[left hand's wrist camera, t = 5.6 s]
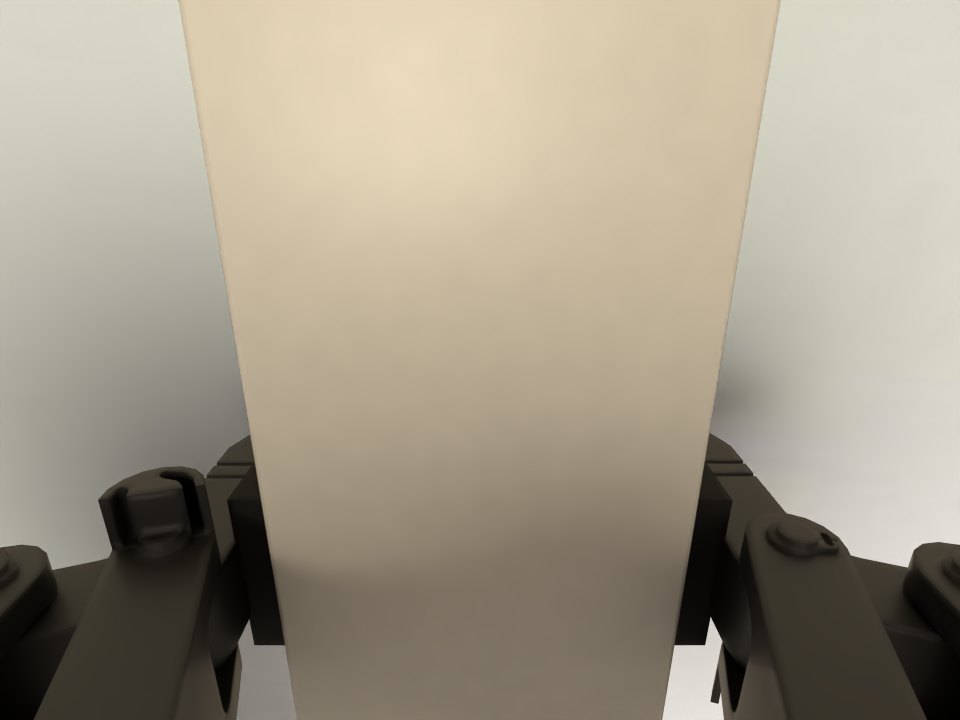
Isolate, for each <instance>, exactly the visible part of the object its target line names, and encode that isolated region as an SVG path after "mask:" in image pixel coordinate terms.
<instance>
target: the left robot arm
mask: <svg viewBox="0 0 960 720" xmlns="http://www.w3.org/2000/svg"><path fill="white" fill-rule="evenodd" d="M98 501H99V505H100V508H101V512H102V515H103V519H104V522H105V525H106V529H107V532H108V536H109V539H110V543H111V546H112V552H111V554H110V556H109V558H107V559H103V560H100V561H95V562H90V563H85V564H80V565H76V566H71V567H66V568H61V569H56V570H52V568H51V565H50V562H49V559H48V556H47V553H46V552H45V551H43V550H42V549H40V548H39V547H37V546H28V545H16V546H9V547H1V548H0V720H236V715H237V707H238V698H239V689H240V680H241V671H242V662H241V656H240V650H239V645H238V641H239V639H240V637H241V635H242V633H243V631H244V629H245V627H246V624H247V622H248V620H249V619H250V624H251V629H252V634H253V640H254V645H285V641H284V635H283V629H282V623H281V617H280V611H279V605H278V599H277V593H276V587H275V581H274V575H273V569H272V563H271V557H270V551H269V545H268V538H267V532H266V526H265V520H264V514H263V508H262V502H261V496H260V490H259V484H258V478H257V472H256V466H255V460H254V454H253V448H252V442H251V436H250V435H249V436H248V437H246V438H244V439H243V440H241V441H239V442H238V443H236V444H235V445H233V446H231V447H230V448H229V449H228V450H227V451H226V452H225V454H224V455H223V456H222V457H221V459H220V460H219V461H218V462H217V466H214V467H213V468H212V470H211V471H210V472H209V473H208V474H207V478H204V475H202V474H201V473H200V472H198V471H197V470H196V469H191V468H186V467H163V468H158V469H154V470H149V471H145V472H141V473H139V474H136V475H134V476H131V477H129V478H126V479H124V480H122V481H121V482H119V483H117V484H116V485H114V486H112V487H111V488H109V489H108V490H107V491H106V492H105V493H104V494H103V495H102V496H101V498H100V499H99V500H98ZM710 617H711V618H712V620H713V622H714V624H715V626H716V629H717V631H718V633H719V635H720V637H721V639H722V645H721V650H720V655H719V660H718V665H717V670H716V675H715V680H714V685H713V689H712V696H711V702H713V703H717V704H718V703H719V698H720V693H721V696H722V705H723V714H724V720H960V545H956V544H949V543H941V542H935V543H927V544H922V545H921V546H919V547H918V548H916V549H915V550H914V552H913V554H912V557H911V560H910V563H909V566H908V568H907V567H902V566H897V565H892V564H887V563H882V562H877V561H872V560H867V559H862V558H858V557H855V556H851V555H850V553H849V551H848V549H847V548H846V546H845V545H844V544H843V542H842V541H841V540H840V539H839V537H837V536H836V535H835V534H833V533H832V532H831V531H829V530H828V529H826V528H825V527H824V526H821V525H819V524H817V523H815V522H813V521H810V520H808V519H806V518H803V517H799V516H795V515H791V514H787V513H786V512H785V511H784V510H783V509H782V508H781V506H780V505H779V504H778V503H777V501H776V500H775V499H774V498H773V497H772V495H771V494H770V493H769V492H768V491H767V489H766V488H765V487H764V486H763V485H762V483H761V482H760V481H759V480H758V478H757V477H756V476H753V472H752V471H751V470H750V469H749V468H748V466H747V465H746V464H743V460H742V459H741V458H740V457H739V455H738V454H737V453H736V452H735V451H734V449H733V448H732V447H731V446H730V445H728V444H727V443H725V442H724V441H722V440H720V439H719V438H717V437H715V436H714V435H712V434H711V433H709V438H708V444H707V450H706V456H705V462H704V468H703V474H702V480H701V486H700V492H699V499H698V505H697V511H696V517H695V523H694V529H693V535H692V541H691V547H690V553H689V559H688V565H687V571H686V577H685V584H684V590H683V596H682V602H681V608H680V614H679V620H678V626H677V632H676V638H675V644H674V645H705V643H706V638H707V632H708V627H709V622H710Z"/></svg>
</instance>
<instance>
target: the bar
mask: <svg viewBox="0 0 960 720" xmlns="http://www.w3.org/2000/svg"><path fill="white" fill-rule="evenodd" d="M780 1H781V0H179V5H180V11H181V18H182V24H183V30H184V36H185V42H186V48H187V54H188V60H189V66H190V72H191V78H192V84H193V90H194V96H195V102H196V108H197V114H198V120H199V127H200V133H201V139H202V145H203V151H204V157H205V163H206V169H207V175H208V181H209V187H210V193H211V199H212V205H213V211H214V217H215V223H216V230H217V236H218V242H219V248H220V254H221V260H222V266H223V272H224V278H225V284H226V290H227V296H228V302H229V308H230V314H231V320H232V326H233V333H234V339H235V345H236V351H237V357H238V363H239V369H240V375H241V381H242V387H243V393H244V399H245V405H246V411H247V417H248V423H249V429H250V436H251V442H252V448H253V454H254V460H255V466H256V472H257V478H258V484H259V490H260V496H261V502H262V508H263V514H264V520H265V526H266V532H267V538H268V545H269V551H270V557H271V563H272V569H273V575H274V581H275V587H276V593H277V599H278V605H279V611H280V617H281V623H282V629H283V635H284V641H285V648H286V654H287V660H288V666H289V672H290V678H291V684H292V690H293V696H294V702H295V708H296V714H297V720H662V717H663V711H664V705H665V699H666V693H667V687H668V681H669V675H670V669H671V662H672V656H673V650H674V644H675V638H676V632H677V626H678V620H679V614H680V608H681V602H682V596H683V590H684V584H685V577H686V571H687V565H688V559H689V553H690V547H691V541H692V535H693V529H694V523H695V517H696V511H697V505H698V499H699V492H700V486H701V480H702V474H703V468H704V462H705V456H706V450H707V444H708V438H709V432H710V426H711V420H712V414H713V407H714V401H715V395H716V389H717V383H718V377H719V371H720V365H721V359H722V353H723V347H724V341H725V335H726V329H727V322H728V316H729V310H730V304H731V298H732V292H733V286H734V280H735V274H736V268H737V262H738V256H739V250H740V244H741V237H742V231H743V225H744V219H745V213H746V207H747V201H748V195H749V189H750V183H751V177H752V171H753V165H754V158H755V152H756V146H757V140H758V134H759V128H760V122H761V116H762V110H763V104H764V98H765V92H766V86H767V80H768V73H769V67H770V61H771V55H772V49H773V43H774V37H775V31H776V25H777V19H778V13H779V7H780Z"/></svg>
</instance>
